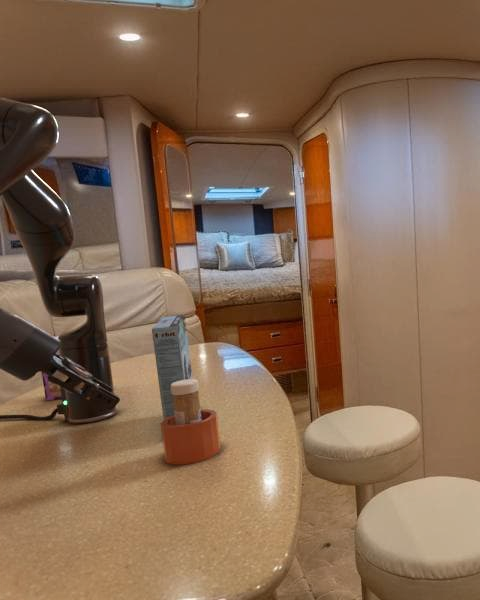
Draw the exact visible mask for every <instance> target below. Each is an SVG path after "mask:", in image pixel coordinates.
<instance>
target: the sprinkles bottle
mask: <svg viewBox="0 0 480 600" xmlns="http://www.w3.org/2000/svg"><path fill="white" fill-rule="evenodd" d="M199 390H200V385H199V380H198V379H195V378H193V379H186V380H180V381H176V382H174V383H172V384H171V394H172V396H173V402H174V414H175V422H176V425H185V424H191V423H195V422H199V421H202V417H201V403H200V394H199Z"/></svg>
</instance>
